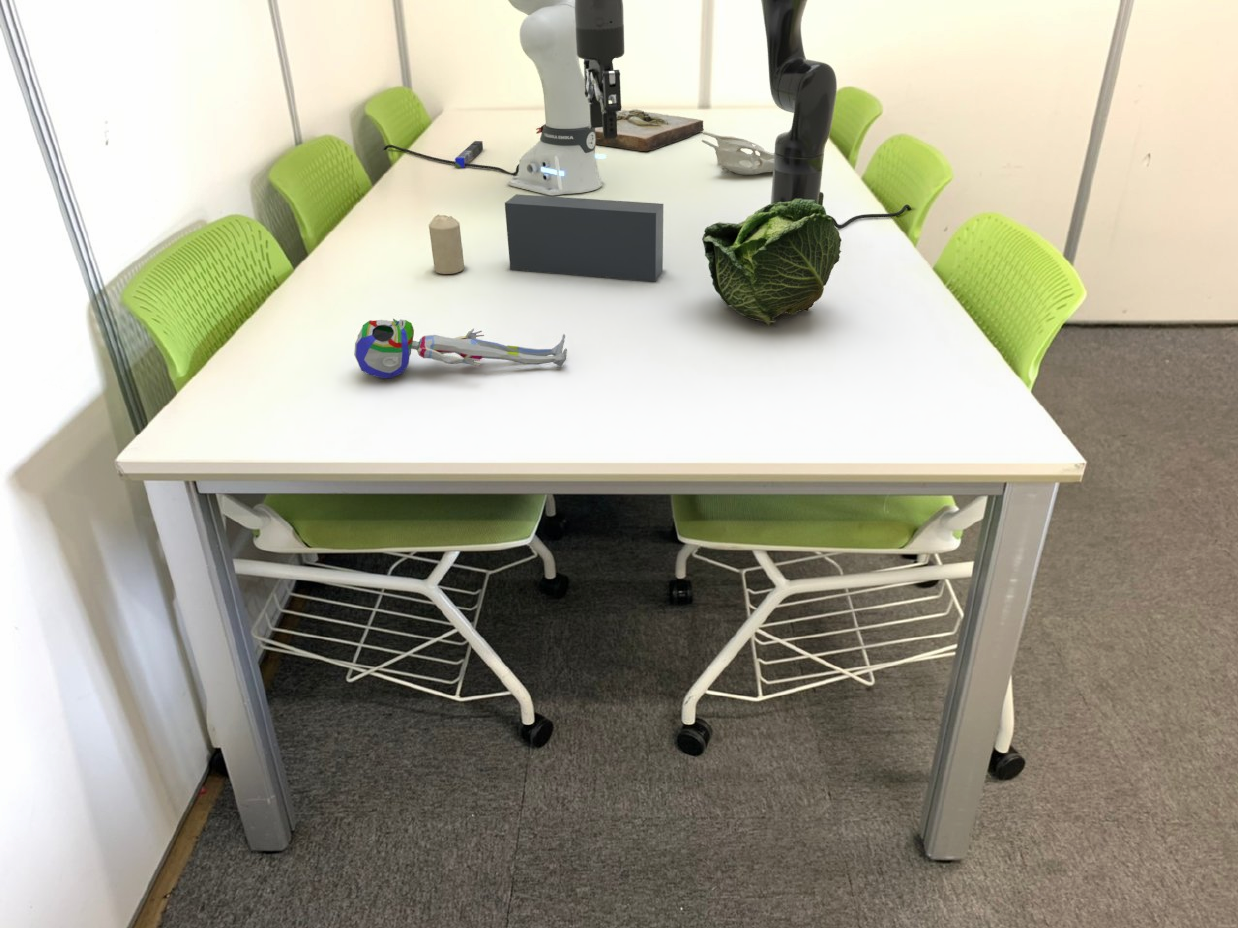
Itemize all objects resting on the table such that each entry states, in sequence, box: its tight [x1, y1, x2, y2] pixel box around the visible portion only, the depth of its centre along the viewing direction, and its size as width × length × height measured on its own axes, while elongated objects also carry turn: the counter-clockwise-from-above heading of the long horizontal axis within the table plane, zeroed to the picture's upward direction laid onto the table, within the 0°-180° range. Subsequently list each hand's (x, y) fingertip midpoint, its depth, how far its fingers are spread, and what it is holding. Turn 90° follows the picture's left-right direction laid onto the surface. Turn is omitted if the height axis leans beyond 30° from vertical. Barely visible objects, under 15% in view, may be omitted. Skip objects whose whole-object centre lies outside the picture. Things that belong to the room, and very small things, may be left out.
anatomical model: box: [701, 131, 774, 176], centre depth 221 cm, size 15×9×25 cm
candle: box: [428, 214, 465, 275], centre depth 165 cm, size 6×6×10 cm
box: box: [504, 193, 664, 283], centre depth 163 cm, size 28×6×12 cm, turn 75°
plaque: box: [595, 108, 705, 152], centre depth 257 cm, size 30×7×30 cm
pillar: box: [454, 140, 484, 169], centre depth 238 cm, size 2×2×20 cm
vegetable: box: [701, 198, 843, 326], centre depth 143 cm, size 20×19×20 cm
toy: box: [353, 318, 568, 379], centre depth 130 cm, size 10×8×30 cm
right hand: (603, 132), depth 147 cm, fingers open, 8 cm apart
